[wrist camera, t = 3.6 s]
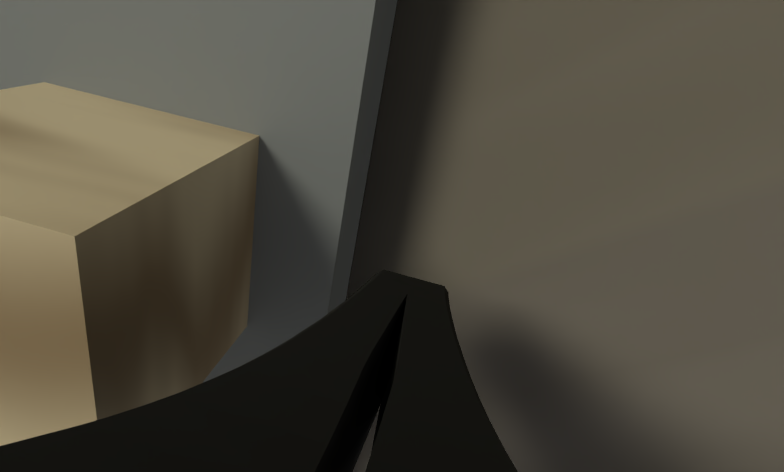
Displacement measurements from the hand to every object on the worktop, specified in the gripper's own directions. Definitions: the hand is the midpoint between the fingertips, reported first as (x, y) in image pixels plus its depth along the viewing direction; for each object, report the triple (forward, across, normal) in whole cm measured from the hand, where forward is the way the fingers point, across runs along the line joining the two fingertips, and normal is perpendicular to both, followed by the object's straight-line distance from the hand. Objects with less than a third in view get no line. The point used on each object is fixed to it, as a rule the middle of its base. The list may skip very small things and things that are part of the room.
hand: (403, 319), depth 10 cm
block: (+1, +6, 0) cm, 7 cm away
